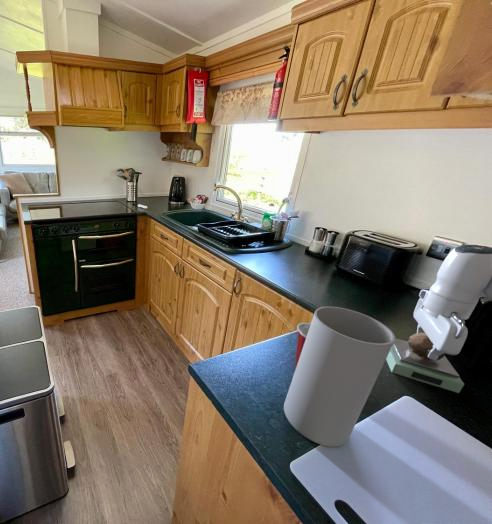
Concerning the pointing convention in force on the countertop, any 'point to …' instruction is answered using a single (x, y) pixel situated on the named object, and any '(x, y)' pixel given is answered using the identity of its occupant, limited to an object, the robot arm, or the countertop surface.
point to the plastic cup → (301, 338)
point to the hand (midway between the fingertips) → (424, 348)
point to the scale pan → (422, 360)
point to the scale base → (423, 374)
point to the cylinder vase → (336, 374)
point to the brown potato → (421, 345)
